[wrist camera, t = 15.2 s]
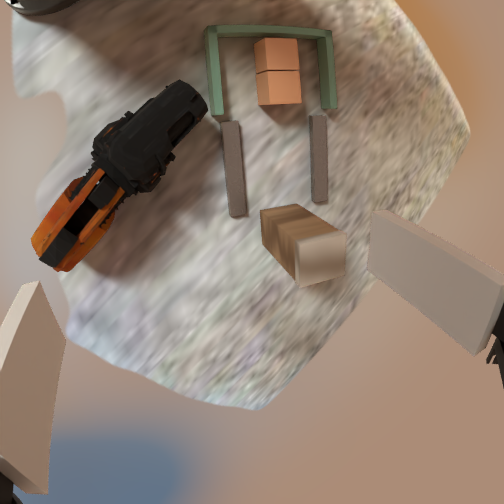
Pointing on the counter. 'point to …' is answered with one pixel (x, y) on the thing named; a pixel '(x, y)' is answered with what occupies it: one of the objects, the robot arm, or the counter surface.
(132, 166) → the tool
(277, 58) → the orange cube piece
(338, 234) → the light brown tall block
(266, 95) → the orange cubic piece
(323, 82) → the green u-shaped frame
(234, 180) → the slot rails
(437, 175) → the counter surface
